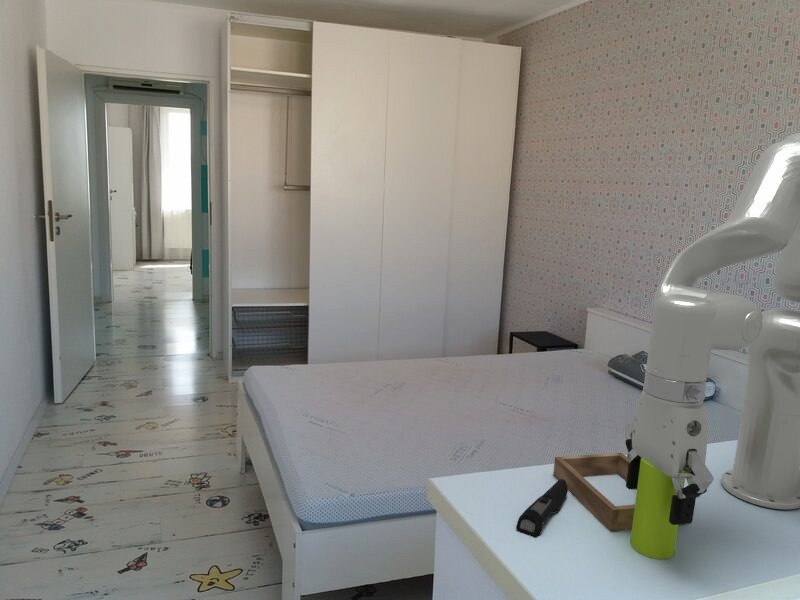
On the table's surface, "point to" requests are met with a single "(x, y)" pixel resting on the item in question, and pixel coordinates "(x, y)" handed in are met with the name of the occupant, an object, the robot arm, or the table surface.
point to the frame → (589, 495)
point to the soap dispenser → (653, 513)
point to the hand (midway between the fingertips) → (657, 504)
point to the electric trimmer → (542, 509)
